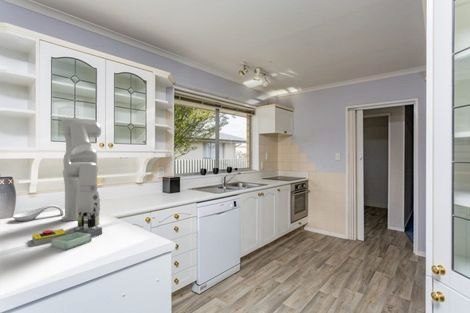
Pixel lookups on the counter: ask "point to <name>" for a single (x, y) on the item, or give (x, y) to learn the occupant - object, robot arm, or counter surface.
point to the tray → (71, 240)
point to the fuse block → (90, 231)
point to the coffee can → (91, 214)
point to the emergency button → (46, 236)
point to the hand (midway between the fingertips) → (88, 226)
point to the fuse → (86, 223)
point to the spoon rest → (34, 213)
